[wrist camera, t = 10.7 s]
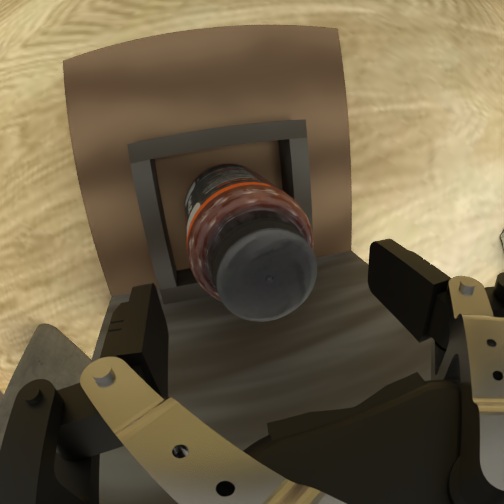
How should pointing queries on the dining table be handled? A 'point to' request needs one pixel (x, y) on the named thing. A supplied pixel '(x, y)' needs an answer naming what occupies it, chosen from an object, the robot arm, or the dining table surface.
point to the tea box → (502, 238)
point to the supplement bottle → (249, 243)
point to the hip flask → (44, 367)
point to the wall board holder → (174, 225)
